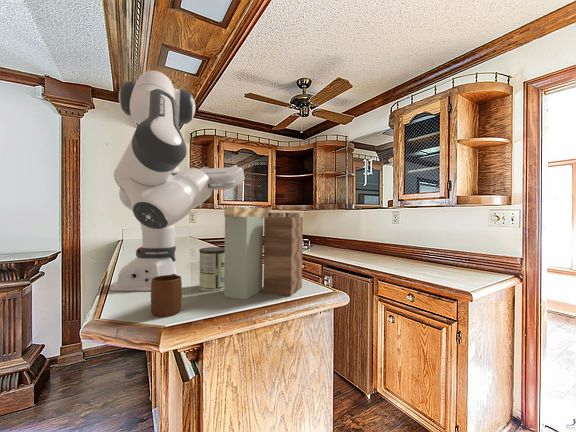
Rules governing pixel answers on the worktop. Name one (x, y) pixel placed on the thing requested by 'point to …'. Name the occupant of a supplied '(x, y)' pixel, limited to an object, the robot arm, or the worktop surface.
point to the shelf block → (243, 256)
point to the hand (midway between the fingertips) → (221, 168)
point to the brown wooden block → (282, 253)
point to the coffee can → (212, 268)
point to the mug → (166, 295)
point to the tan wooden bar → (246, 212)
